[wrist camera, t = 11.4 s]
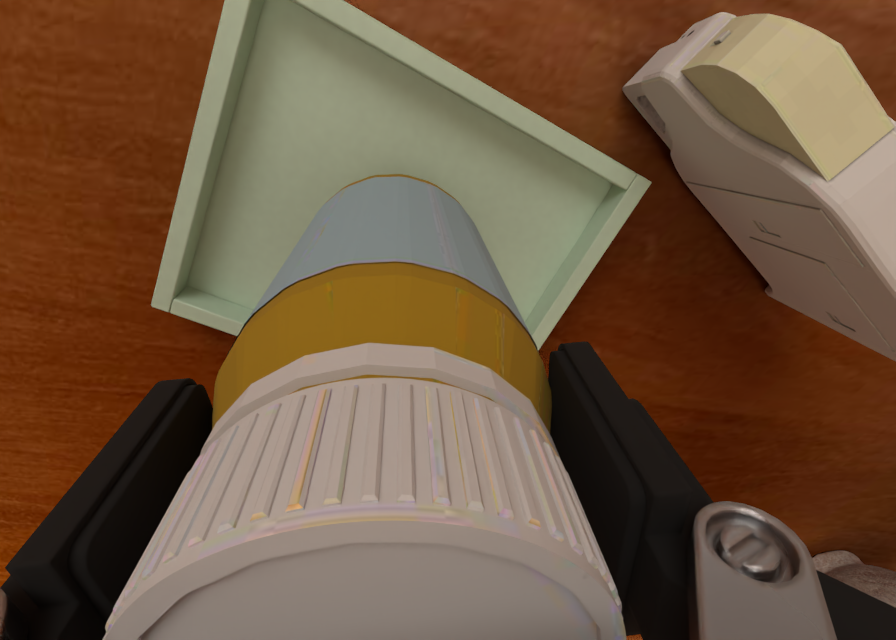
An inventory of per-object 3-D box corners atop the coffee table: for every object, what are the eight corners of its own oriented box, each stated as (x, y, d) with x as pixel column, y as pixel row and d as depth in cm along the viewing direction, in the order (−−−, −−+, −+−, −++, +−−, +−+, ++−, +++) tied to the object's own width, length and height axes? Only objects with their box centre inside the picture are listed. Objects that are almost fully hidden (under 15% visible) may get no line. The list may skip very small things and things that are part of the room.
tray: (173, 286, 22) (149, 306, 20) (258, -44, 17) (238, -62, 15) (482, 398, 27) (488, 424, 25) (629, 172, 22) (652, 182, 20)
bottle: (451, 346, 21) (536, 806, 8) (296, 313, 19) (69, 811, 6) (503, 199, 18) (788, 534, 5) (324, 147, 16) (-2, 419, 3)
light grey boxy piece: (641, 44, 21) (812, 261, 25) (593, 94, 22) (766, 297, 25) (823, -44, 11) (1070, 353, 14) (720, 56, 11) (978, 408, 15)
